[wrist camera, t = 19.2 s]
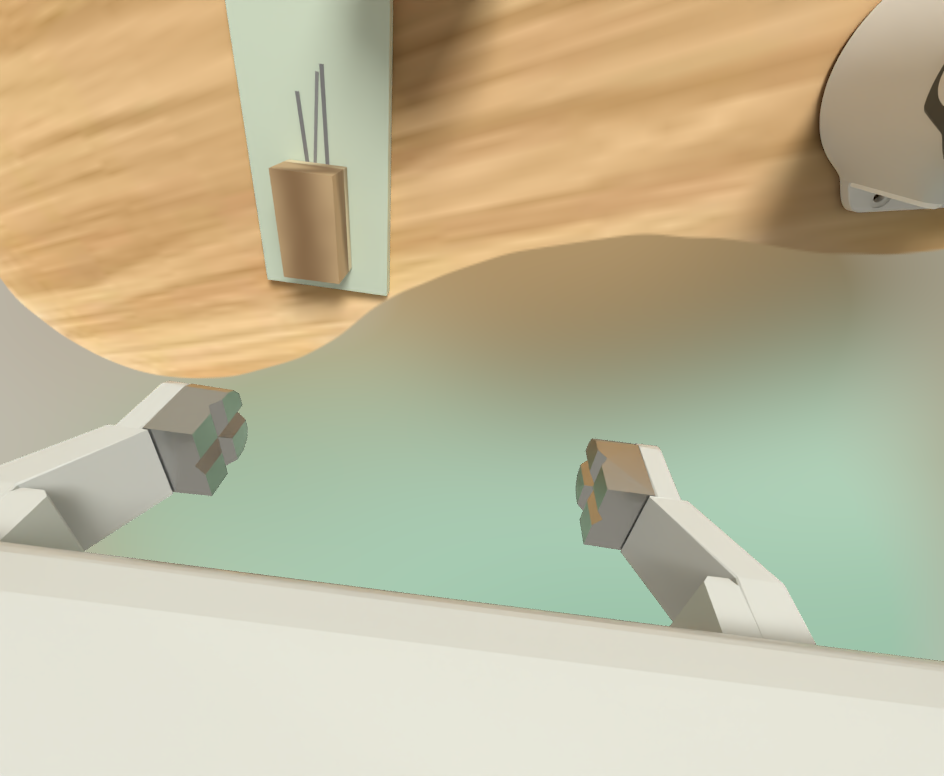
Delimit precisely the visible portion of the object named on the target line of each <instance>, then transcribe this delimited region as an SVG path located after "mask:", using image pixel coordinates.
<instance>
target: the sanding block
mask: <svg viewBox="0 0 944 776" xmlns="http://www.w3.org/2000/svg"><path fill="white" fill-rule="evenodd" d="M269 175H270V182H271V189H272V196H273V203H274V210H275V217H276V224H277V231H278V238H279V245H280V252H281V260H282V267H283V274H284V277H288V278H296V279H304V280H312V281H319V282H327V283H335V284H340V283H341V281H342V280H343V279H344V277H345V276H346V275H347V273H348V272H349V271H350V270H351V268H352V262H351V241H350V220H349V200H348V179H347V167H344V166H336V165H328V164H321V163H313V162H306V161H298V160H291V159H288V160H286V161H283V162H281V163H279V164H277V165H274V166H272V167H270V168H269Z"/></svg>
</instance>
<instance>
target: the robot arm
mask: <svg viewBox="0 0 944 776" xmlns="http://www.w3.org/2000/svg"><path fill="white" fill-rule="evenodd" d="M820 136H821V141H822V145H823V148H824V151H825V153H826V155H827V157H828V159H829V161H830V162H831V164H832V165H833V167H834V168H835V169H836V171H837V173H838V175H839V178H840V195H841V202H842V205H843V207H844V208H845V209H846V210H849V211H853V212H859V213H861V212H880V211H897V210H915V209H937V208H944V0H882V1H881V2H880V3H879V4H878V5H877V6H876V7H875V8H874V9H873V11H872V12H871V13H870V14H869V15H868V16H867V17H866V18H865V20H864V21H863V22H862V23H861V25H860V26H859V27H858V28H857V30H856V31H855V32H854V34H853V35H852V37H851V38H850V40H849V41H848V43H847V44H846V46H845V47H844V49H843V51H842V52H841V54H840V56H839V58H838V60H837V62H836V64H835V66H834V68H833V70H832V72H831V75H830V77H829V80H828V82H827V85H826V88H825V92H824V95H823V99H822V104H821V111H820ZM876 194H878V195H879V196H878V197H877V198H876V199H875V200H873V198H874V196H875V195H876ZM241 406H242V402H241V398H240V395H239V393H237V392H236V391H234V390H228V389H222V388H215V387H209V386H203V385H196V384H187V383H180V382H174V381H167V382H163V383H161V384H160V385H159V386H158V387H157V388H156V389H155V390H154V391H153V392H151V393H150V394H149V395H148V396H147V397H146V398H145V399H144V400H143V401H142V402H140V403H139V404H138V405H137V406H136V407H135V408H134V409H133V410H132V411H130V413H128V414H127V415H126V416H125V417H124V418H123V419H122V420H121V421H119V422H118V423H117V424H116V425H105V426H102V427H100V428H97V429H95V430H92V431H89V432H87V433H84V434H81V435H79V436H76V437H73V438H71V439H68V440H65V441H63V442H60V443H58V444H55V445H52V446H50V447H47V448H44V449H42V450H39V451H36V452H34V453H31V454H29V455H26V456H23V457H20V458H18V459H15V460H13V461H10V462H7V463H5V464H2V465H0V776H944V661H938V660H930V659H922V658H914V657H905V656H897V655H890V654H882V653H874V652H866V651H858V650H850V649H841V648H834V647H826V646H818V645H816V643H815V641H814V640H813V638H812V636H811V634H810V632H809V630H808V628H807V627H806V624H805V623H804V621H803V619H802V617H801V615H800V613H799V611H798V609H797V607H796V606H795V604H794V602H793V600H792V598H791V596H790V594H789V593H788V591H787V589H786V587H785V585H784V584H783V583H782V582H781V581H780V580H778V579H777V578H776V577H775V576H774V575H773V574H771V573H770V572H769V571H768V570H767V569H766V568H765V567H763V566H762V565H761V564H760V563H759V562H757V561H756V560H755V559H754V558H753V557H752V556H751V555H750V554H748V553H747V552H746V551H745V550H744V549H743V548H741V547H740V546H739V545H738V544H737V543H736V542H734V541H733V540H732V539H731V538H730V537H729V536H728V535H726V534H725V533H724V532H723V531H722V530H721V529H720V528H718V527H717V526H716V525H715V524H714V523H713V522H711V521H710V520H709V519H708V518H707V517H706V516H704V515H703V514H702V513H701V512H700V511H699V510H698V509H696V508H695V507H694V506H693V505H692V504H691V503H689V502H688V501H684V500H681V498H680V496H679V493H678V491H677V489H676V486H675V484H674V481H673V479H672V476H671V474H670V472H669V469H668V467H667V464H666V462H665V459H664V457H663V454H662V452H661V450H660V448H659V447H657V446H653V445H644V444H631V443H623V442H615V441H608V440H600V439H591V441H590V442H589V444H588V446H587V449H586V455H587V461H586V462H584V463H582V464H581V465H580V468H579V471H578V475H577V481H576V499H577V504H578V505H579V506H580V507H581V509H582V510H583V512H582V515H581V518H580V525H581V530H582V537H583V543H584V544H586V545H593V546H599V547H605V548H611V549H618V550H621V553H622V554H623V556H624V557H625V558H626V560H627V561H628V562H629V564H630V565H631V566H632V568H633V569H634V570H635V572H636V573H637V574H638V576H639V577H640V578H641V580H642V581H643V582H644V584H645V585H646V586H647V588H648V589H649V590H650V592H651V593H652V594H653V596H654V597H655V598H656V600H657V601H658V602H659V604H660V605H661V607H662V608H663V609H664V610H665V612H666V613H667V615H668V616H669V617H670V619H671V620H672V621H673V623H672V624H671V625H670V626H662V625H654V624H646V623H638V622H631V621H623V620H615V619H607V618H599V617H591V616H583V615H576V614H568V613H560V612H552V611H543V610H535V609H529V608H520V607H513V606H505V605H497V604H489V603H481V602H472V601H465V600H457V599H449V598H441V597H432V596H425V595H417V594H410V593H402V592H394V591H385V590H378V589H370V588H363V587H355V586H347V585H339V584H331V583H324V582H316V581H308V580H300V579H292V578H285V577H276V576H268V575H261V574H253V573H245V572H237V571H229V570H222V569H214V568H206V567H198V566H190V565H182V564H175V563H167V562H158V561H151V560H143V559H135V558H128V557H120V556H112V555H103V554H96V553H88V552H85V550H86V549H88V548H90V547H91V546H93V545H94V544H96V543H97V542H99V541H100V540H102V539H104V538H105V537H107V536H108V535H110V534H112V533H113V532H114V531H116V530H118V529H119V528H121V527H122V526H124V525H125V524H127V523H129V522H130V521H132V520H133V519H135V518H136V517H138V516H139V515H141V514H143V513H144V512H146V511H147V510H149V509H150V508H152V507H153V506H155V505H157V504H158V503H160V502H161V501H162V500H164V499H166V498H167V497H169V496H170V495H172V494H173V492H180V493H189V494H200V495H210V496H212V495H213V494H214V492H215V491H216V489H217V488H218V487H219V485H220V484H221V482H222V481H223V480H224V478H225V477H226V475H227V474H228V473H227V469H226V465H228V464H229V463H231V462H233V461H235V460H237V459H238V458H239V456H240V455H241V453H242V451H243V450H244V447H245V444H246V440H247V423H246V420H245V419H244V418H243V417H242V416H241V415H240V414H239V413H238V410H239V409H240V408H241Z"/></svg>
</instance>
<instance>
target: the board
mask: <svg viewBox="0 0 944 776" xmlns="http://www.w3.org/2000/svg"><path fill="white" fill-rule="evenodd" d="M225 3H226V9H227V16H228V22H229V29H230V35H231V42H232V49H233V55H234V62H235V68H236V75H237V81H238V88H239V94H240V101H241V107H242V114H243V120H244V127H245V134H246V140H247V147H248V153H249V160H250V166H251V173H252V179H253V186H254V192H255V199H256V205H257V212H258V218H259V225H260V232H261V238H262V245H263V251H264V258H265V264H266V271H267V277H268V279H269V280H276V281H283V282H290V283H298V284H305V285H312V286H319V287H326V288H333V289H341V290H348V291H355V292H362V293H369V294H377V295H384V296H387V295H388V293H389V279H390V205H391V132H392V58H393V0H225ZM288 159H291V160H298V161H306V162H313V163H321V164H328V165H336V166H344V167H347V179H348V200H349V220H350V241H351V262H352V268H351V270H350V271H349V272H348V273H347V275H346V276H345V277H344V279H343V280H342V281H341V283H340V284H335V283H327V282H319V281H312V280H304V279H296V278H288V277H284V274H283V267H282V260H281V252H280V245H279V238H278V231H277V224H276V217H275V210H274V203H273V196H272V189H271V182H270V175H269V168H270V167H272V166H274V165H277V164H279V163H281V162H283V161H286V160H288Z"/></svg>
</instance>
